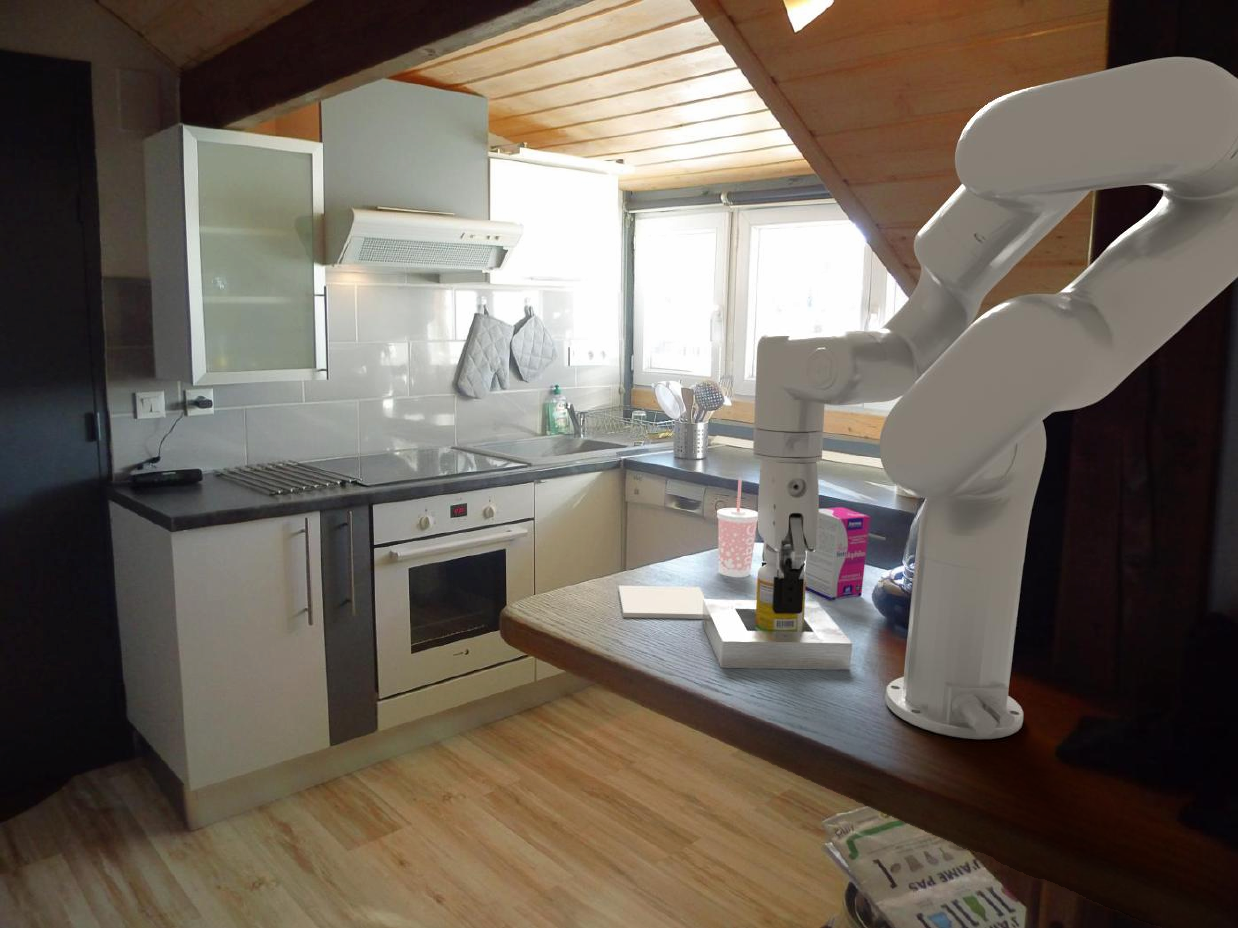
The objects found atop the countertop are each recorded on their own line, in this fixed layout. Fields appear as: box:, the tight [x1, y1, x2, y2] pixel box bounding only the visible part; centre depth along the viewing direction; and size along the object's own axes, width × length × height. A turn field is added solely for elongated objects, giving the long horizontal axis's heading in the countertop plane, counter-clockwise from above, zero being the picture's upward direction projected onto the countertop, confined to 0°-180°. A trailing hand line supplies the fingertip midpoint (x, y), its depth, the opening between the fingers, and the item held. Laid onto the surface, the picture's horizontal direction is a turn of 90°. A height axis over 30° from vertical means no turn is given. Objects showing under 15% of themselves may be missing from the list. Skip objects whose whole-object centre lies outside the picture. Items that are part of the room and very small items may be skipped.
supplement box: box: [804, 506, 871, 601], centre depth 124 cm, size 6×6×12 cm
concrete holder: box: [701, 598, 853, 671], centre depth 104 cm, size 14×14×3 cm
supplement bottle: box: [756, 545, 806, 632], centre depth 103 cm, size 5×5×10 cm
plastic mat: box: [618, 585, 706, 620], centre depth 118 cm, size 11×11×1 cm
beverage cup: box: [716, 477, 758, 578], centre depth 132 cm, size 6×6×14 cm
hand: (780, 602), depth 103 cm, fingers closed on supplement bottle, 5 cm apart
